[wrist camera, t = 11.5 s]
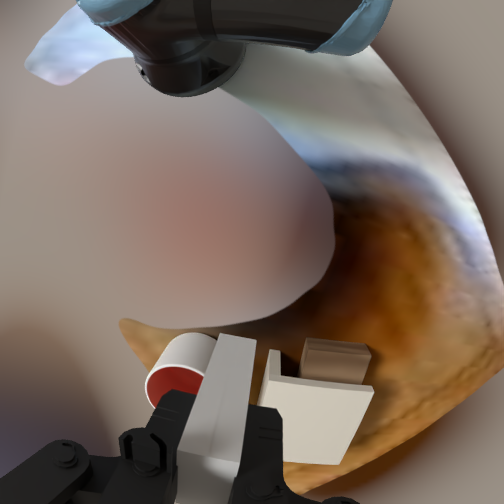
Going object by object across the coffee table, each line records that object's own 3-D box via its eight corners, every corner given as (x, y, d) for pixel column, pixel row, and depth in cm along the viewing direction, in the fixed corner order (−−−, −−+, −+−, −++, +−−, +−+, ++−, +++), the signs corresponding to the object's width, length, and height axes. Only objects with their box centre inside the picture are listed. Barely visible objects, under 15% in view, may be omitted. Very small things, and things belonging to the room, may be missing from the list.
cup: (240, 343, 45) (232, 382, 35) (221, 393, 47) (209, 435, 37) (175, 319, 45) (151, 352, 35) (161, 371, 47) (139, 408, 37)
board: (306, 336, 44) (308, 349, 40) (364, 342, 44) (371, 355, 40) (286, 413, 47) (286, 429, 43) (338, 418, 47) (341, 433, 43)
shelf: (270, 349, 45) (268, 380, 37) (361, 361, 44) (374, 392, 36) (252, 423, 48) (248, 456, 40) (332, 432, 47) (338, 464, 39)
